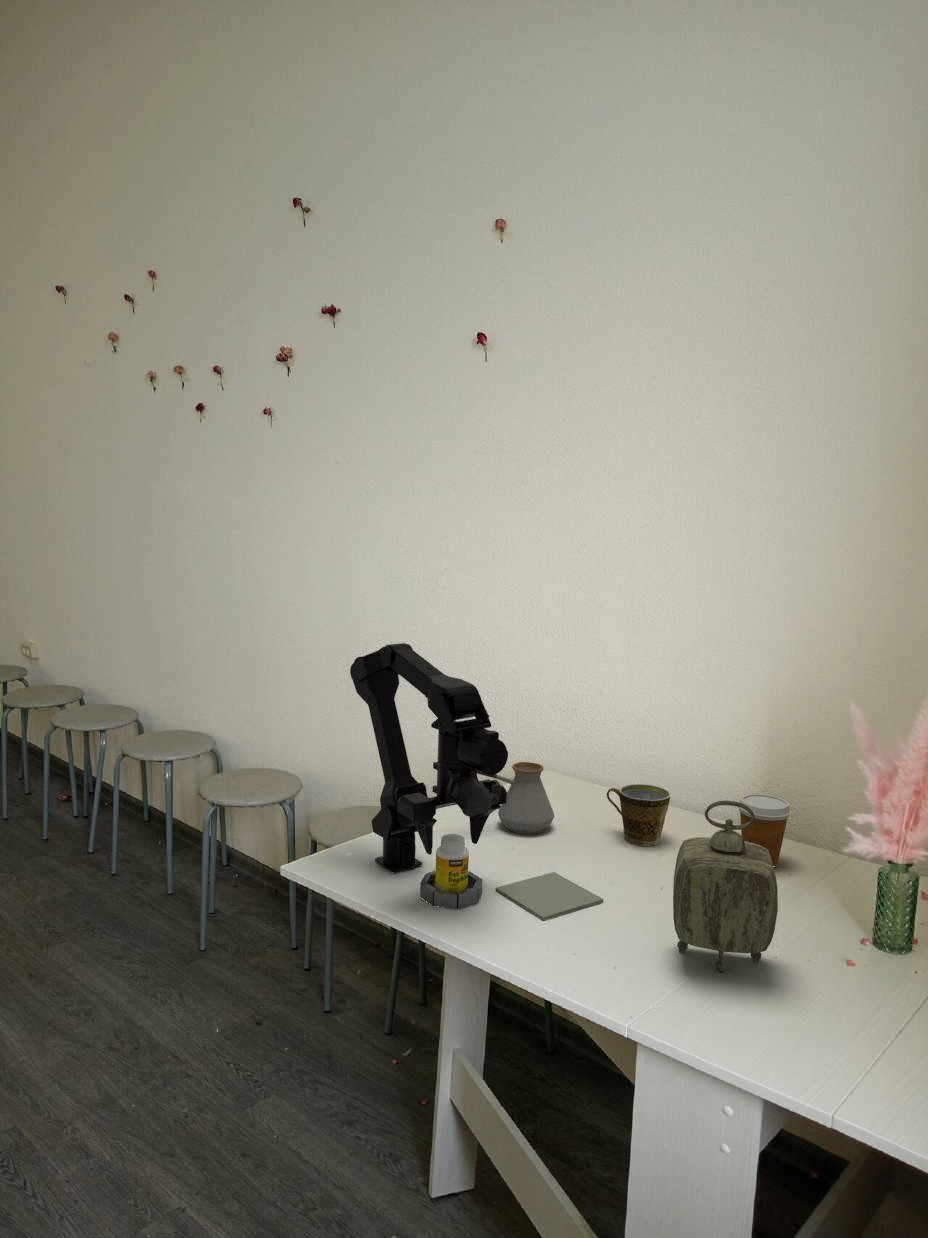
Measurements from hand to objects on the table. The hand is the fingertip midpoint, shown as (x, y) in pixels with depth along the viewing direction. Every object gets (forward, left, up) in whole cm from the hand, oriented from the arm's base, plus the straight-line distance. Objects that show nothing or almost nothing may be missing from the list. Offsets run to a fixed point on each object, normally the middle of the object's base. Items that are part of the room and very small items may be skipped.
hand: (452, 848), depth 159 cm
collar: (0, 0, -8) cm, 8 cm away
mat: (+9, +14, -8) cm, 19 cm away
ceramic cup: (-3, +46, -9) cm, 47 cm away
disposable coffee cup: (+18, +58, -9) cm, 61 cm away
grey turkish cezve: (-20, +26, -9) cm, 34 cm away
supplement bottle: (0, 0, -9) cm, 9 cm away
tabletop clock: (+40, +21, -9) cm, 46 cm away
